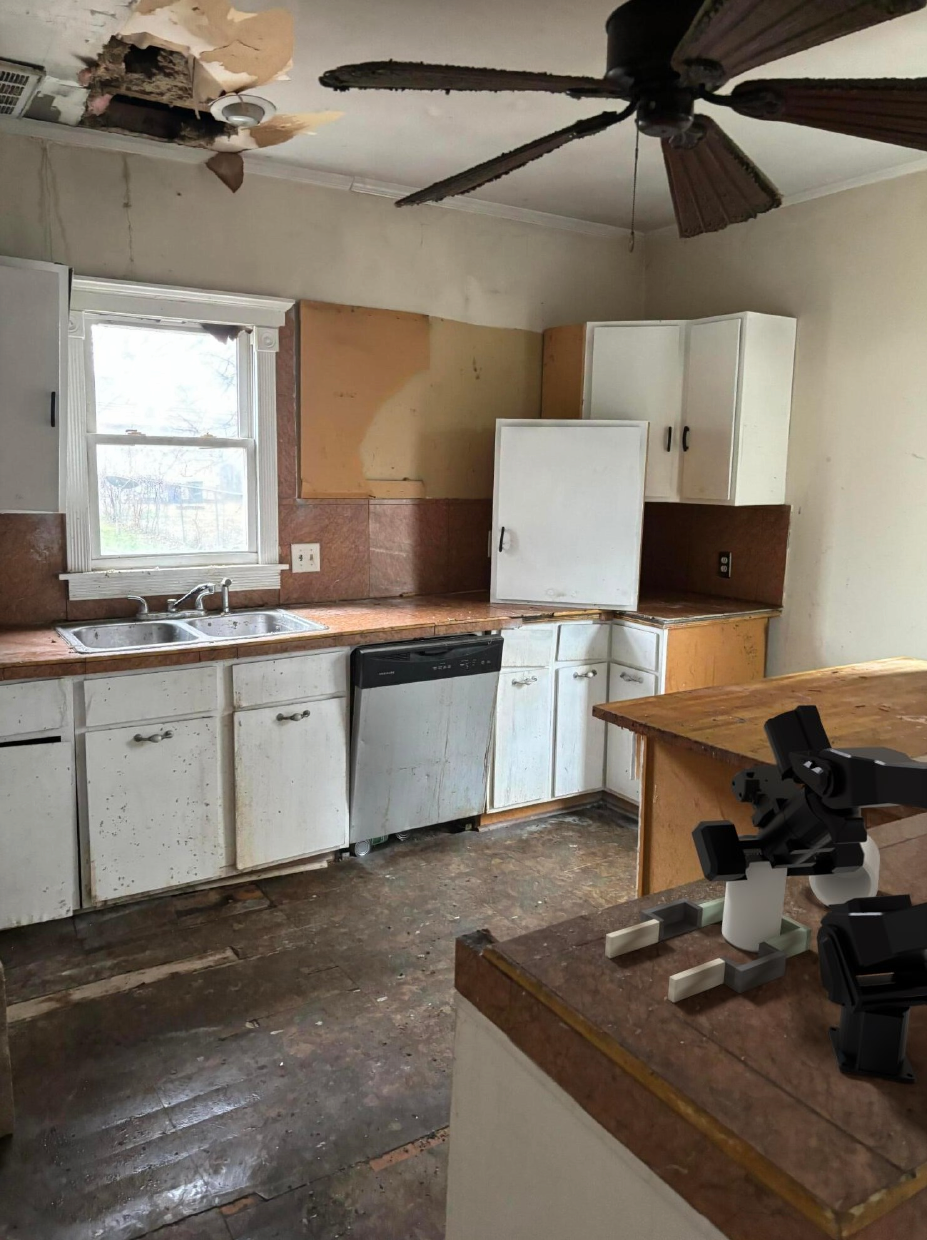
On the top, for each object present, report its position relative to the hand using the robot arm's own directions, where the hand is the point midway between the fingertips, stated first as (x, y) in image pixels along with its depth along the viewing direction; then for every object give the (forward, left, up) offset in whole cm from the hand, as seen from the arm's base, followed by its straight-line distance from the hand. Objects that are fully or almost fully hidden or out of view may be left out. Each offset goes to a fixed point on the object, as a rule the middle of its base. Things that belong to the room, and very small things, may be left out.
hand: (746, 874), depth 105 cm
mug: (+15, -12, -8) cm, 20 cm away
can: (-1, -1, -8) cm, 8 cm away
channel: (-6, +4, -7) cm, 10 cm away
